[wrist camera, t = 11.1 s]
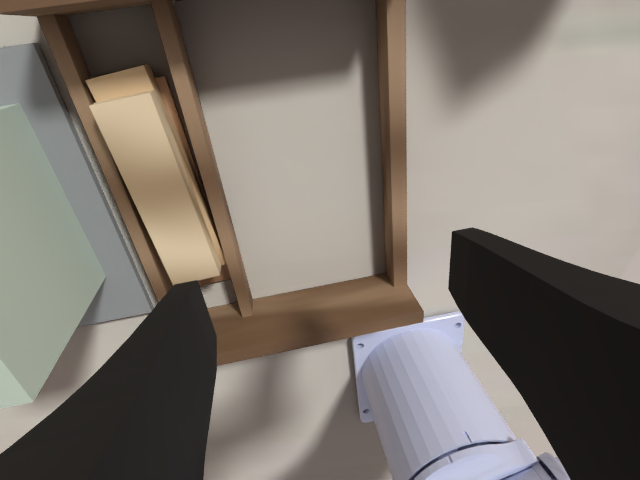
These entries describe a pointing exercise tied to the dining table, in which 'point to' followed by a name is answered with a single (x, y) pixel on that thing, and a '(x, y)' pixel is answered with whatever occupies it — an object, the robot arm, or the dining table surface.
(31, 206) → the sage plywood sheet
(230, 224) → the walnut rack
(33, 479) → the robot arm
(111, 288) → the grey rubber mat
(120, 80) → the middle offcut
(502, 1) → the dining table surface
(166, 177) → the top offcut
